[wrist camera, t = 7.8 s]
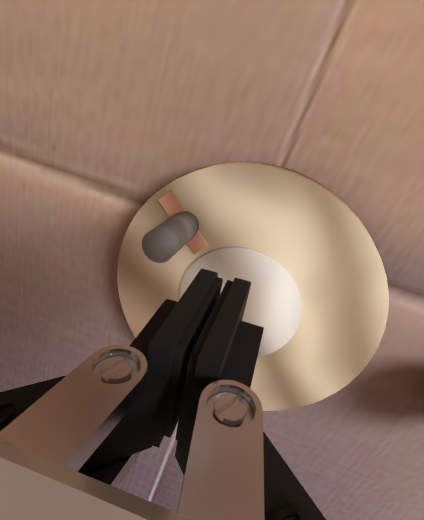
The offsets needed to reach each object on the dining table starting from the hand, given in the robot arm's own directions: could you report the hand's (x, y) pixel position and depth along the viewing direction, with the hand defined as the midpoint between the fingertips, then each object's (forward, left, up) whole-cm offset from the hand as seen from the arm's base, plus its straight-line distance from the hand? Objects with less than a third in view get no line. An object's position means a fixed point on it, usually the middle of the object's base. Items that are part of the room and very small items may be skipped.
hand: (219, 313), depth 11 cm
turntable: (+3, -6, -14) cm, 16 cm away
